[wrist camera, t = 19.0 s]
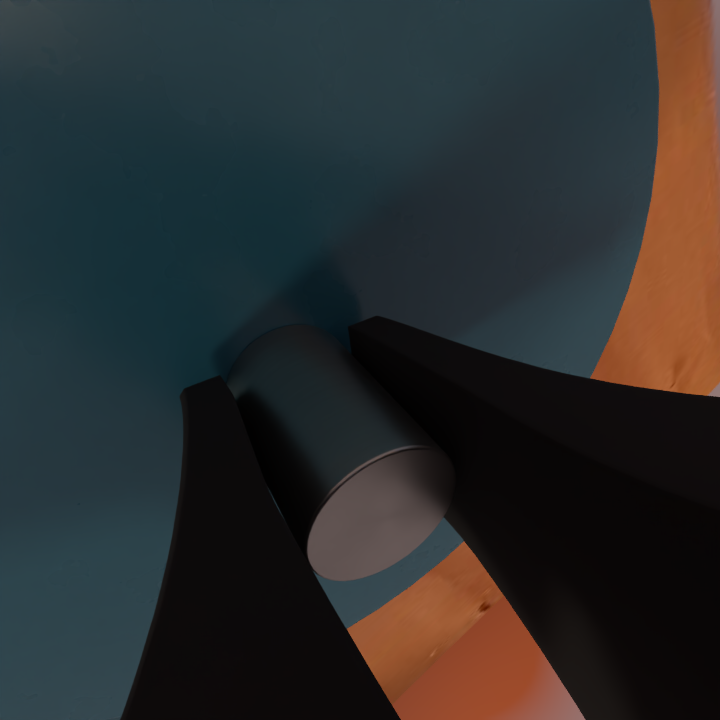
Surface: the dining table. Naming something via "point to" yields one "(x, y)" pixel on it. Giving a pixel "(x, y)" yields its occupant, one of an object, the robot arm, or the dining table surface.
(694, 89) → the dining table surface
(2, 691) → the pot lid
